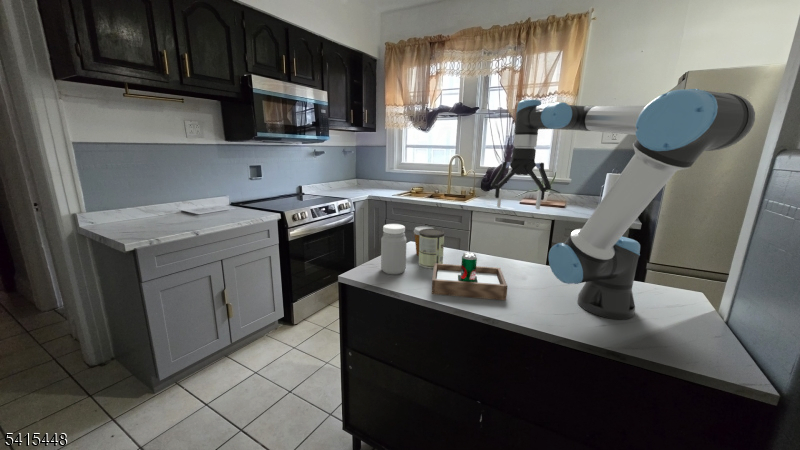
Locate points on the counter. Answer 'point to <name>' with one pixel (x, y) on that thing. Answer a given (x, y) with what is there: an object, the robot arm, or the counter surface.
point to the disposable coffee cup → (417, 234)
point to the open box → (469, 284)
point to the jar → (393, 249)
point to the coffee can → (431, 247)
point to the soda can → (468, 267)
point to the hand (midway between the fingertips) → (517, 207)
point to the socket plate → (457, 275)
